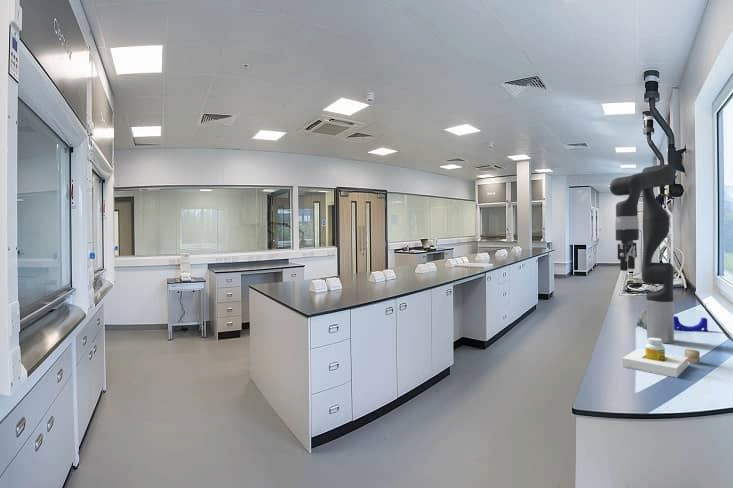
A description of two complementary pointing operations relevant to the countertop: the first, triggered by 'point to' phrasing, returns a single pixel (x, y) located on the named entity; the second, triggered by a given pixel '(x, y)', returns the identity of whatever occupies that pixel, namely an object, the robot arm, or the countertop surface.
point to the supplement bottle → (655, 350)
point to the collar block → (656, 363)
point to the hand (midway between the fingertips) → (627, 269)
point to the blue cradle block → (693, 328)
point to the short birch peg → (692, 356)
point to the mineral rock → (642, 319)
